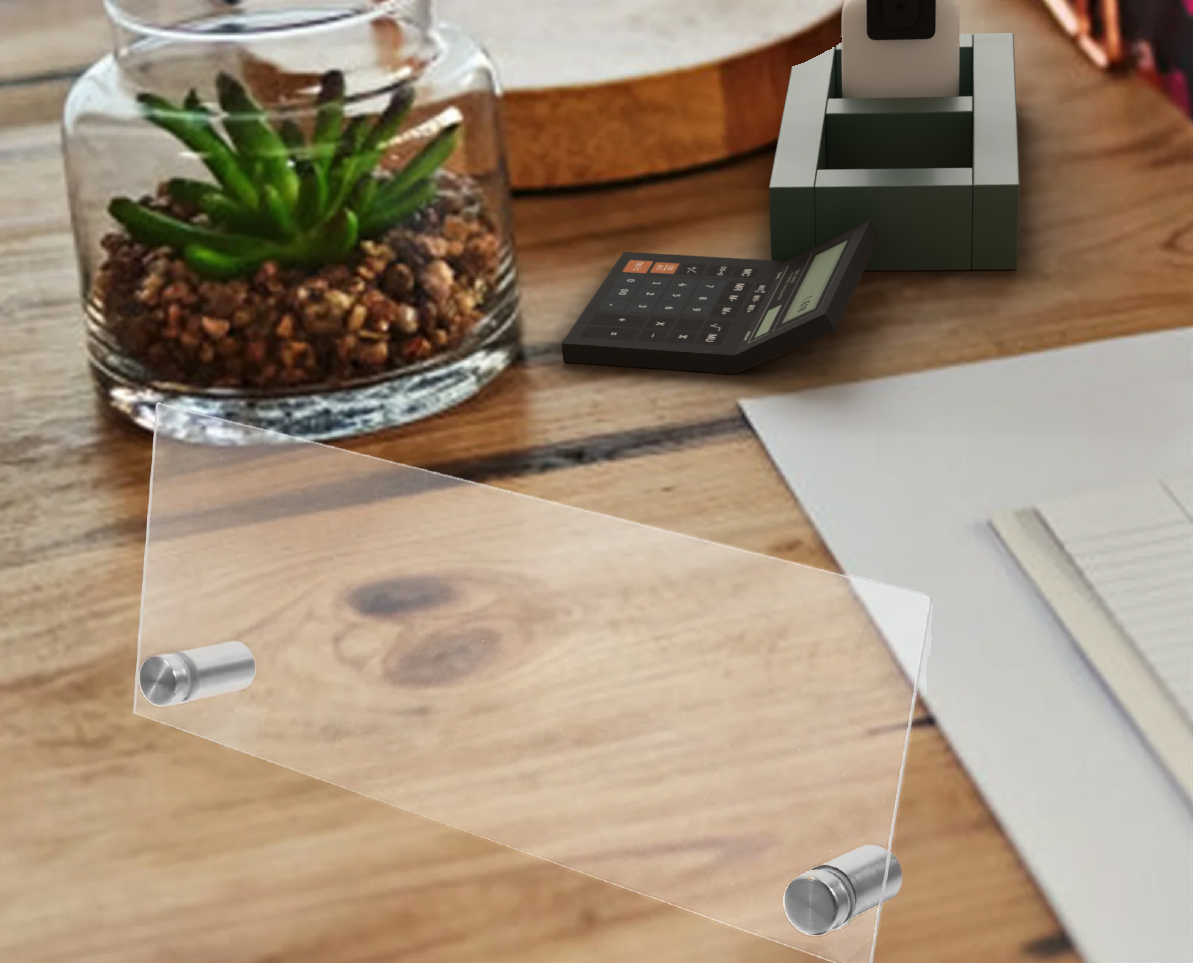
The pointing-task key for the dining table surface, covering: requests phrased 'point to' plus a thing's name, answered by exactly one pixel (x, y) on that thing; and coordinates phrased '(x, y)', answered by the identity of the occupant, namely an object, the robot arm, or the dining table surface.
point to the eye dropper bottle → (900, 57)
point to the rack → (903, 165)
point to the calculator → (717, 307)
